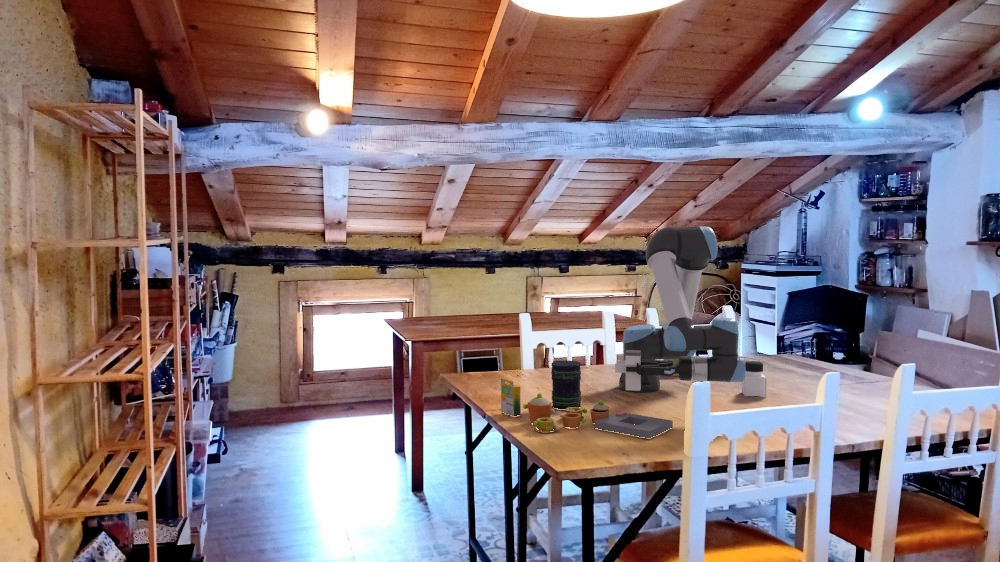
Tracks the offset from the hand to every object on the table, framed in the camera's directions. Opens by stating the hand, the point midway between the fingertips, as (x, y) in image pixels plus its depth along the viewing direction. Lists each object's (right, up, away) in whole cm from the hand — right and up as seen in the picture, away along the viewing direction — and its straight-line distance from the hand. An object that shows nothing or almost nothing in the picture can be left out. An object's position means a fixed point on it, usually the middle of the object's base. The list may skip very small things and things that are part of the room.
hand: (616, 366), depth 218 cm
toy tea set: (-16, -17, -9) cm, 25 cm away
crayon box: (-33, -16, +3) cm, 37 cm away
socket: (+2, -16, -16) cm, 23 cm away
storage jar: (-15, -15, +12) cm, 24 cm away
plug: (+5, -7, -1) cm, 9 cm away
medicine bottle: (+53, -13, +24) cm, 59 cm away
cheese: (+37, -11, +64) cm, 74 cm away
